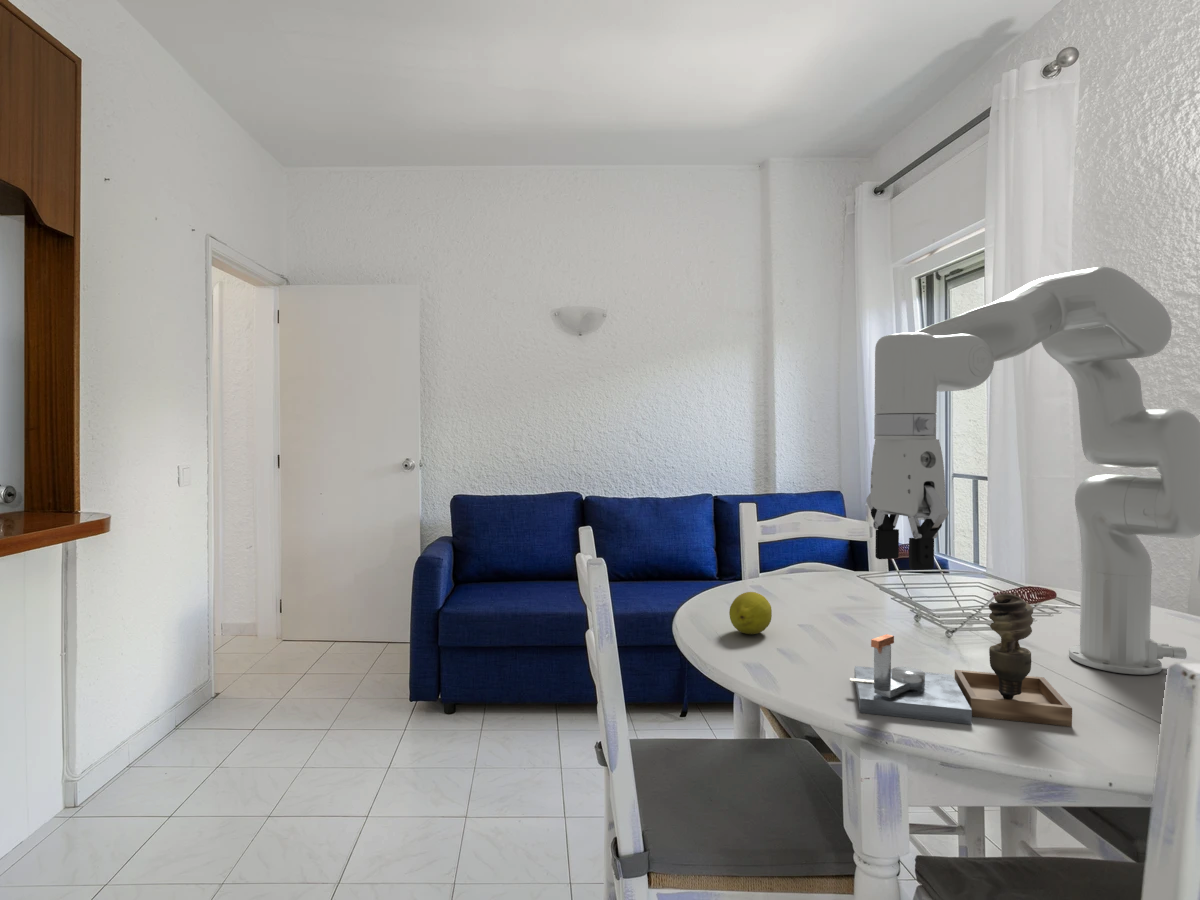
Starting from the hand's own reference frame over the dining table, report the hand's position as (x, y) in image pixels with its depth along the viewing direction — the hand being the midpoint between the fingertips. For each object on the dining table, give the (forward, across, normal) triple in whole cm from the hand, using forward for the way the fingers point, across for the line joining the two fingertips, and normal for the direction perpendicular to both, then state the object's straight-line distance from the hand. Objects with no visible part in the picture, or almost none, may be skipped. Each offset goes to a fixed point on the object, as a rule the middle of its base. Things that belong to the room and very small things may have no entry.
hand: (903, 562), depth 93 cm
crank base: (+22, +8, -6) cm, 24 cm away
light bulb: (+21, +3, -19) cm, 29 cm away
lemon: (+22, +43, +3) cm, 49 cm away
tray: (+22, +3, -19) cm, 29 cm away
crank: (+19, +6, -3) cm, 21 cm away
